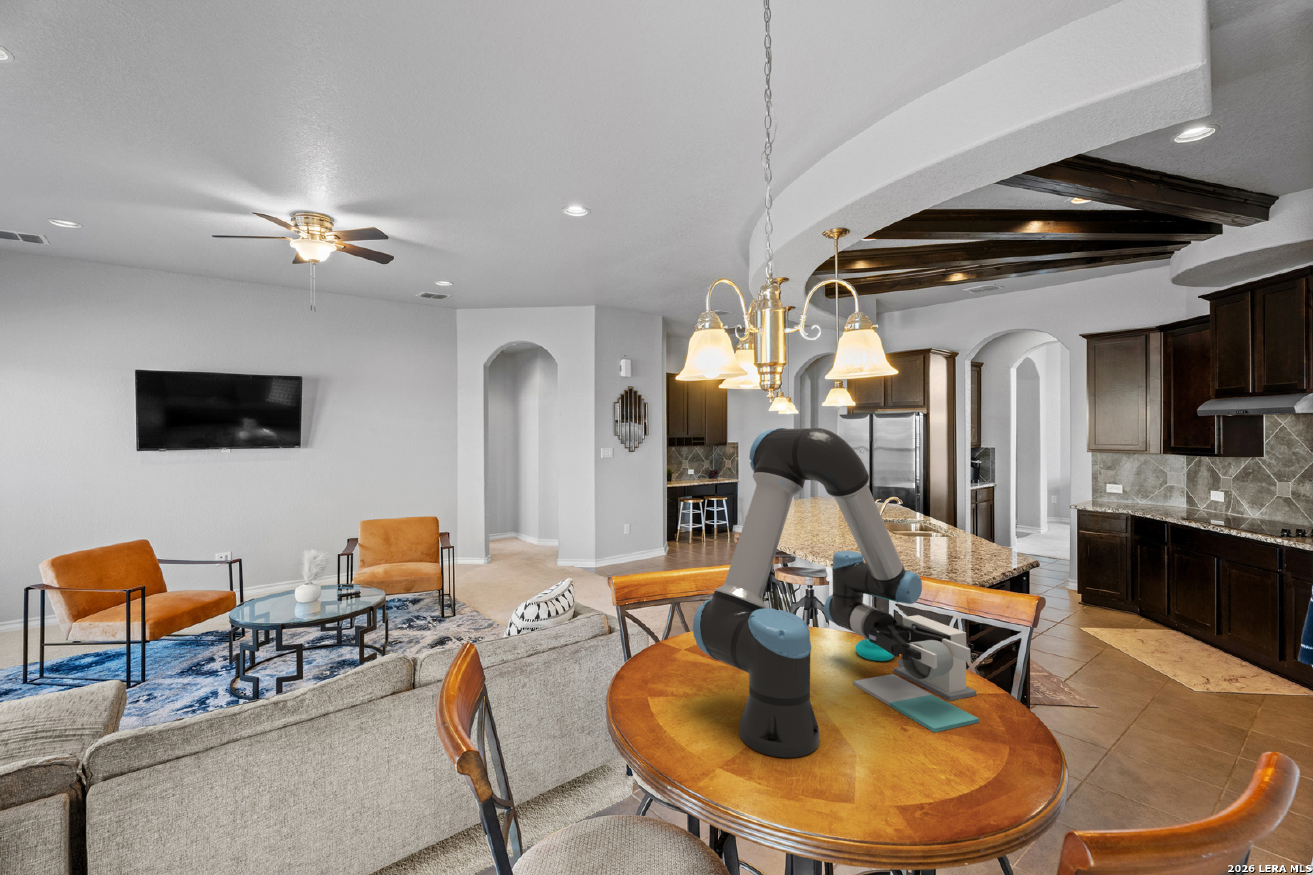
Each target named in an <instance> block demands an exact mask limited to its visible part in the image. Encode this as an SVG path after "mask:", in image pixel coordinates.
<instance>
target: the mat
mask: <svg viewBox="0 0 1313 875" xmlns="http://www.w3.org/2000/svg"><path fill="white" fill-rule="evenodd" d="M852 685H853V686H855V687H857V688H859V689H860V690H861V691H863V692H866V693H867V694H869V695H870V696H872V697H874V698H875V699H877V700H879V702H880V701H881V702H882V703H883V704H885V705H887V706H889V707H891V708H892V709H893V710H895V711H897V712H898V713H900V714H902V715H904V716H905V717H908V718H910V720H912V719H913V720H912V721H914V722H916V723H917V724H919V723H920V724H919V725H920V726H923V727H924V728H926V729H927V728H928V730H929V731H931V732H932V733H939V732H943V731H947V730H952V729H957V728H960V727H964V726H970V725H973V724H974V725H975V724H979V723H980V718H979V717H977V716H974V715H973V714H971V713H969V712H967V711H966V710H963V709H961V708H960V707H958V706H955V705H954V704H952V703H950V702H948V701H947V700H944V699H943V698H940V697H938V696H936V695H934V694H933V693H932V692H929V691H928V690H925V689H923V688H921V687H919V686H917V685H916V684H913V683H911V682H909V680H908V681H907V679H906V680H905V678H904V679H903V677H902V678H901V676H900V677H899V675H897V674H895V673H891V674H886V675H885V674H884V675H880V676H873V677H869V678H861V679H858V680H857V679H856V680H852Z"/></svg>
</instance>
